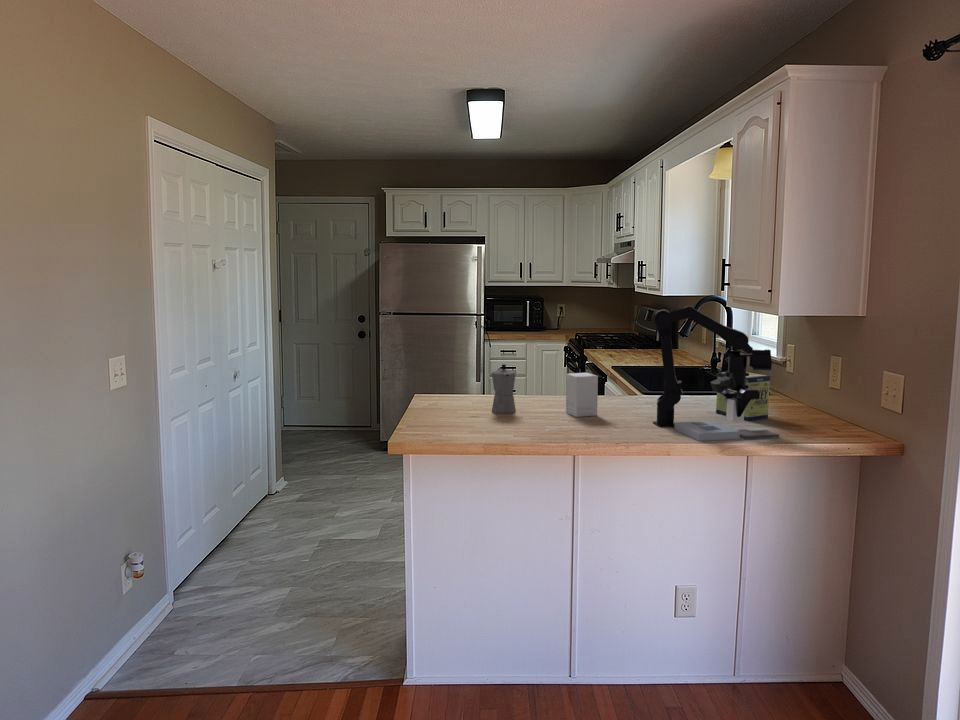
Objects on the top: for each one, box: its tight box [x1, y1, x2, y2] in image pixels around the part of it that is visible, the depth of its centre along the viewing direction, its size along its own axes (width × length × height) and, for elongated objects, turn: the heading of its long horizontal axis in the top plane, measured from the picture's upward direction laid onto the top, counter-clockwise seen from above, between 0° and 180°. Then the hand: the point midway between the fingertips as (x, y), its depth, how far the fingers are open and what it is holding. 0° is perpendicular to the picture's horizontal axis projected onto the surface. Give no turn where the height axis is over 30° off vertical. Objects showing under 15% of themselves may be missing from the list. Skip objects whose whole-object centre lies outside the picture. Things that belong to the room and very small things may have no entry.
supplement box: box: [565, 372, 599, 418], centre depth 254 cm, size 9×9×15 cm
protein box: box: [715, 371, 771, 422], centre depth 251 cm, size 10×16×16 cm
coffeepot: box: [491, 364, 517, 415], centre depth 261 cm, size 15×9×18 cm, turn 11°
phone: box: [739, 429, 780, 440], centre depth 221 cm, size 6×12×1 cm, turn 101°
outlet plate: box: [674, 420, 741, 442], centre depth 224 cm, size 16×14×2 cm
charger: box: [725, 399, 744, 423], centre depth 231 cm, size 4×4×7 cm
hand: (735, 415), depth 231 cm, fingers closed on charger, 4 cm apart
